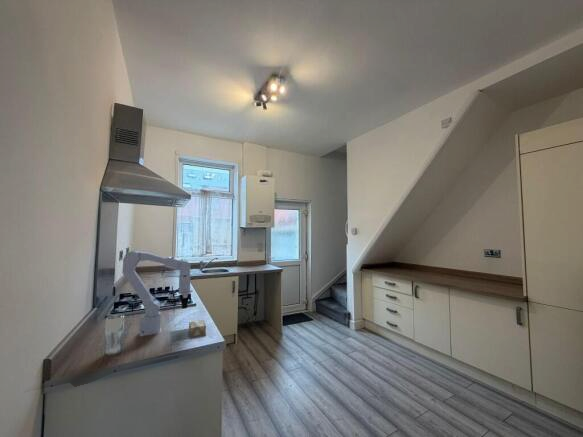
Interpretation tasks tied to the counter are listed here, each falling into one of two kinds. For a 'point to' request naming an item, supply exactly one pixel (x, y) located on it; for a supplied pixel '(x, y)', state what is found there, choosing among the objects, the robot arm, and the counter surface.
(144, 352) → the counter surface
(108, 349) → the beer glass
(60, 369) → the counter surface
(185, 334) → the rubber mat
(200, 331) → the mottled beige block
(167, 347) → the counter surface
